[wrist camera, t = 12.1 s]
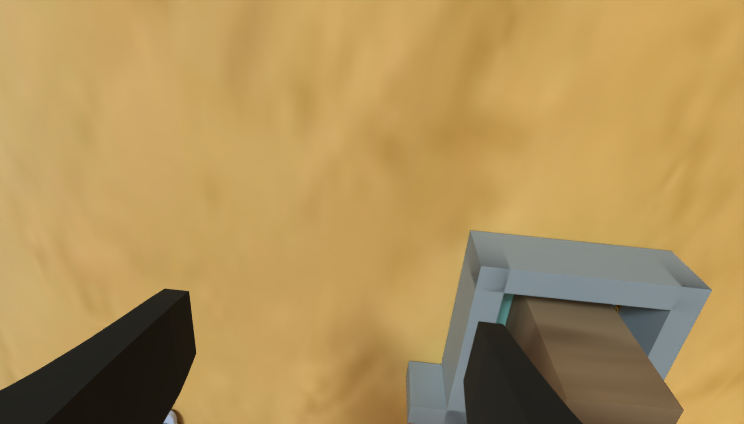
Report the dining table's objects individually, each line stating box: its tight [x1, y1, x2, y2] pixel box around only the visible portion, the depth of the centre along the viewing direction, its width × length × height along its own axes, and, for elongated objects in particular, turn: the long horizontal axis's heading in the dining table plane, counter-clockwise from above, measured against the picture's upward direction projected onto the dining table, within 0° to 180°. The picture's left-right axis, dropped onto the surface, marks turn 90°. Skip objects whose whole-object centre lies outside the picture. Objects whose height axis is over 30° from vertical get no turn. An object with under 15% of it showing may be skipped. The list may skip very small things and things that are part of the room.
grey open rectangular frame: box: [406, 230, 712, 424], centre depth 24 cm, size 18×11×3 cm, turn 175°
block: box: [505, 294, 684, 424], centre depth 19 cm, size 4×4×7 cm
